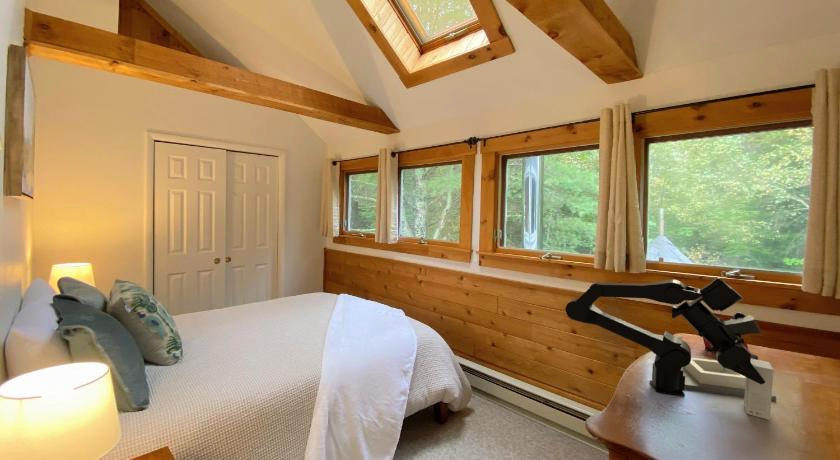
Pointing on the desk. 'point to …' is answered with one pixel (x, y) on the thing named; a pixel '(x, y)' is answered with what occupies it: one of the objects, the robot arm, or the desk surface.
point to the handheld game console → (709, 348)
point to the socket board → (714, 378)
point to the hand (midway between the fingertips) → (760, 376)
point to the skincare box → (759, 391)
